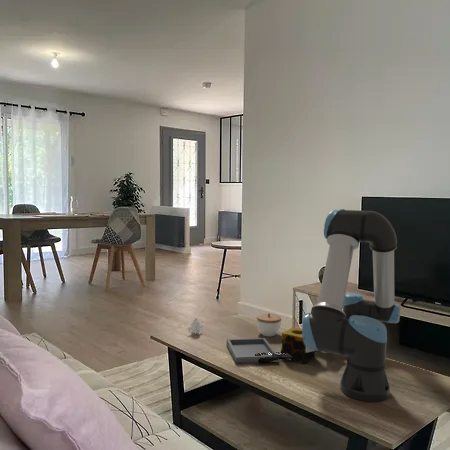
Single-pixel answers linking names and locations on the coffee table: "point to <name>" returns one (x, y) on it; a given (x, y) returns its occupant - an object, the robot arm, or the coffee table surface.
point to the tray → (248, 349)
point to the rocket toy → (195, 326)
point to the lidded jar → (268, 324)
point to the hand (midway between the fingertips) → (294, 343)
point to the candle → (295, 346)
